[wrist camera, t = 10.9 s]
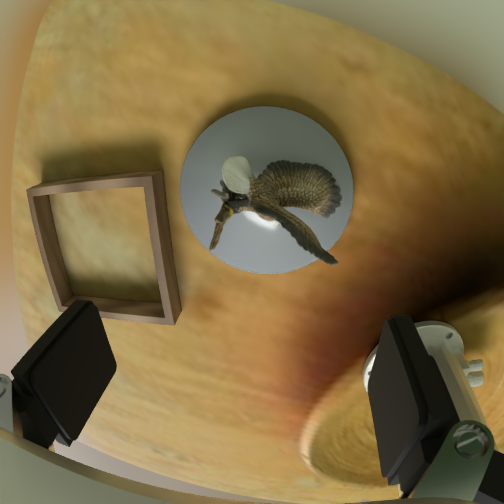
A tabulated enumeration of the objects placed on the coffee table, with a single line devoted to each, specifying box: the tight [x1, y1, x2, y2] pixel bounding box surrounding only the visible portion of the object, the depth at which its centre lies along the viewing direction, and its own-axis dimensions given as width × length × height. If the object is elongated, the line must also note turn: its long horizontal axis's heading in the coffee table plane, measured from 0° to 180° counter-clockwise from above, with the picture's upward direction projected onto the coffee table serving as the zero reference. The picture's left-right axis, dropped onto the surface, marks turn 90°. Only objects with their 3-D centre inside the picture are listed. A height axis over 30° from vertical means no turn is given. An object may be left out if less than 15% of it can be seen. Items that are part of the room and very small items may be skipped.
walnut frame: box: [26, 170, 182, 325], centre depth 29 cm, size 15×14×2 cm
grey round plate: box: [180, 106, 353, 274], centre depth 26 cm, size 14×14×1 cm
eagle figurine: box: [209, 156, 342, 265], centre depth 22 cm, size 8×7×9 cm
